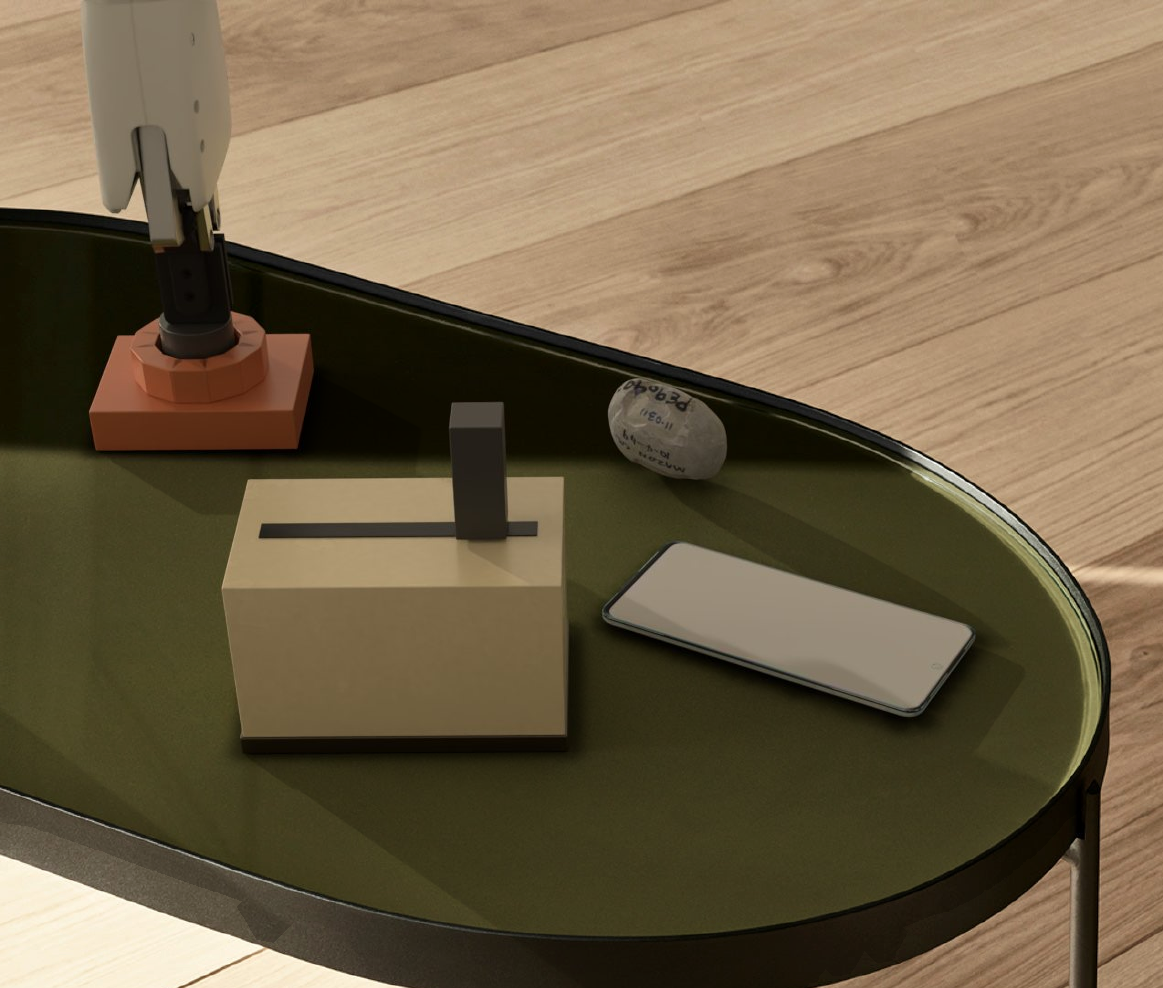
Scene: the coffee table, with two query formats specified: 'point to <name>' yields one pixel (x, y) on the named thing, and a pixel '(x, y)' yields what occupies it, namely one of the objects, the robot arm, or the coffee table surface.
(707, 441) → the fossil
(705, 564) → the smartphone
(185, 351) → the timer button
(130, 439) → the timer box
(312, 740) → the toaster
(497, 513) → the slider
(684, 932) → the coffee table surface
